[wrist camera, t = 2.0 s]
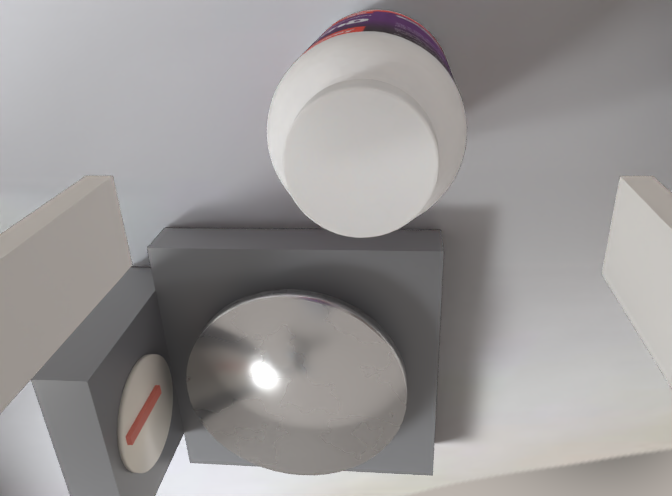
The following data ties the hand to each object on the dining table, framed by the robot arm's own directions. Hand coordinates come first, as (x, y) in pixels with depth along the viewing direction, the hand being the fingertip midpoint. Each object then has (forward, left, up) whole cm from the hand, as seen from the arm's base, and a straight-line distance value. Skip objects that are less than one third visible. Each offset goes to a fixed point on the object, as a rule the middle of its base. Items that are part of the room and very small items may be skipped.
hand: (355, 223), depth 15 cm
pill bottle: (0, 0, -20) cm, 20 cm away
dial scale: (-7, -18, -20) cm, 28 cm away
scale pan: (-5, -18, -16) cm, 25 cm away
